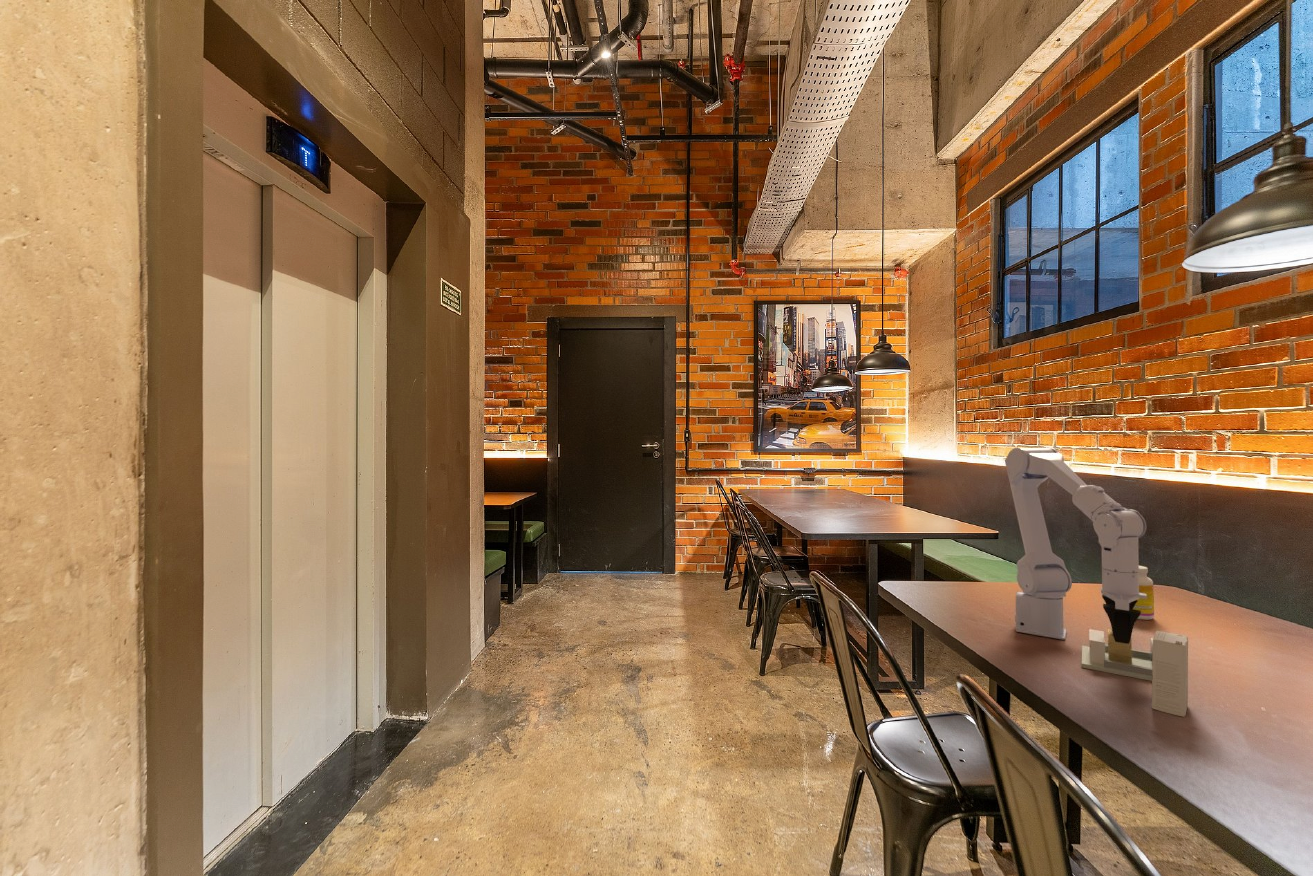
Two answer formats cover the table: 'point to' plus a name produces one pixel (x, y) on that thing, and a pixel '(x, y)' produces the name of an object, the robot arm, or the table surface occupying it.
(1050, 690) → the table surface
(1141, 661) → the vise
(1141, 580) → the supplement bottle
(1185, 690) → the skincare box
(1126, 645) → the block
